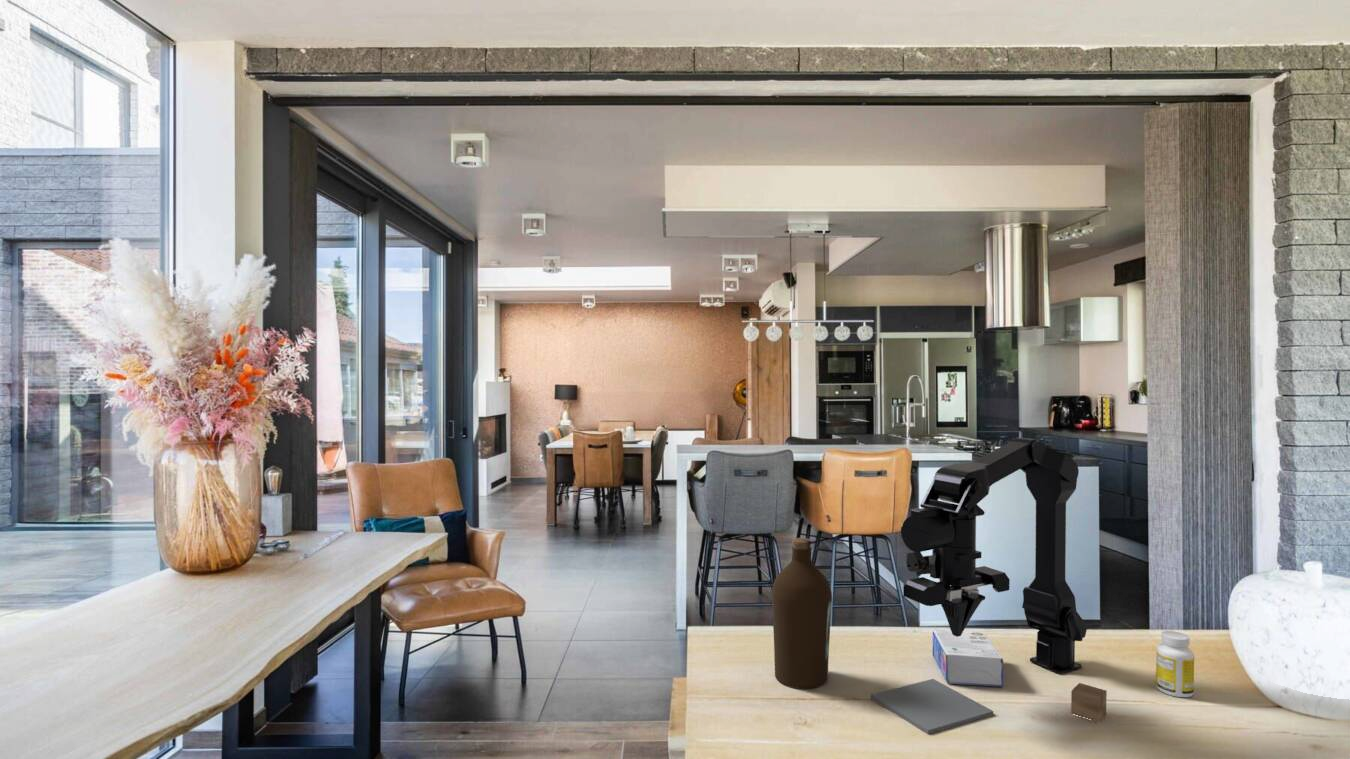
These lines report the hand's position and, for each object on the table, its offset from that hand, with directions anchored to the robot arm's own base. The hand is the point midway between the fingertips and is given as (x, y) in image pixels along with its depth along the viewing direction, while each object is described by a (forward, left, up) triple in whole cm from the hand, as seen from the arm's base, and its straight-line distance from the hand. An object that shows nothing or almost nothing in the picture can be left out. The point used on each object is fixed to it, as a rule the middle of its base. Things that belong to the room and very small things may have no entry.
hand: (956, 635), depth 123 cm
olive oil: (+19, -18, -11) cm, 28 cm away
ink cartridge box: (-6, -2, -8) cm, 11 cm away
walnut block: (-15, +13, -11) cm, 23 cm away
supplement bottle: (-36, +14, -11) cm, 41 cm away
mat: (+6, 0, -11) cm, 12 cm away
